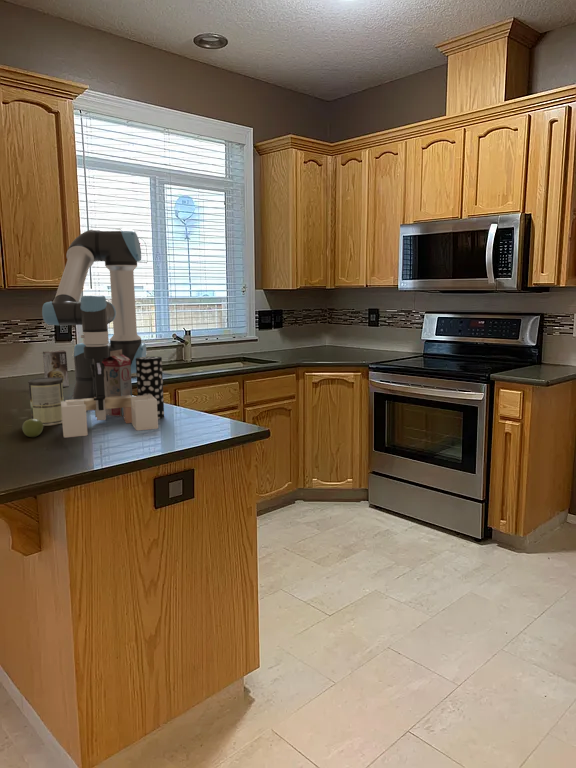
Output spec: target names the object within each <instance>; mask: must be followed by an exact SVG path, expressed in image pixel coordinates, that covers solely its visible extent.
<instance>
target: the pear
mask: <svg viewBox="0 0 576 768" xmlns="http://www.w3.org/2000/svg"><path fill="white" fill-rule="evenodd" d="M21 429H22V432H23V434H24V435H25V436H26V437H29V438H36V437H38V436H39V435H41V433H42V432H43V429H44V426H43V423H42V422H41V421H40V420H38V419H32V418H29V419H27V420H24V422H23V423H22V427H21Z"/></svg>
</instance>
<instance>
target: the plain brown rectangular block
mask: <svg viewBox="0 0 576 768" xmlns="http://www.w3.org/2000/svg"><path fill="white" fill-rule="evenodd" d="M123 412H124V416H123V421H124V422H125V423H126V424H132V413H131V407H123Z"/></svg>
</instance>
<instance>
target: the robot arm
mask: <svg viewBox="0 0 576 768" xmlns="http://www.w3.org/2000/svg"><path fill="white" fill-rule="evenodd" d="M66 259H67V260H66V263H65V267H64V270H63V273H62V276H61V279H60V282H59V283H58V284H59V285H58V288H57V290H56V294H55V296H54V299H53V301H51V300H50V301H46V302H45V303H43V305H42V307H41V308H42V310H41V315H42V320H43V321H44V323H45V324H46V325H47V326H48V325H49V326H58V327H59V326H78V325H79V326H82V327H81V328H82V334H81V335H80V338H81V339H83V342H80V343H77V344H75V345H74V346H73V358H74V359H73V360H74V372H75V373H74V374H75V385H74V388H73V392H72V395H71V400H74V399H87V398H94V400H96V410H94V414H95V418H96V421H106V420H107V415H106V411H105V388H104V369H105V366H104V363H102V361H103V360H104V359H106V358H108V357H110V351H115V350H122V354H123V355H124V356H126V357H128V358H129V359H130V363H131V373H136V358H138V357H146V356H147V355H146V353H147V344H146V343H145V342H142V338H141V336H140V335H139V334H138V333H137V331H138V329H137V327H138V326H137V315H136V313H137V312H136V311H137V310H136V296H135V294H136V293H135V276H134V275H135V274H134V271H135V269H136V268H138V262H141V260H142V248H141V243H140V241H139V237H138V234H137V232H136V231H135V230H133V229H129V228H128V229H127V228H104V229H103V228H93V229H88V230H86V231H84V232H82V233H80V234H79V235H78V236H77V237H76V238H74V240H72V242H71V243H70V245H69V246H68V248H67V251H66ZM95 262H104V267H106V268H107V269H108V271H109V278H110V280H109V281H110V293H111V297H110V298H111V302H109V301H107V299H106V297H105V295H83V296H81V294H82V291H83V289H84V285H85V282H86V278H87V275H88V272H89V269H90V267H92V266H93V265H94V263H95ZM110 323H112V327H113V328H112V330H113V335H112V336H111V337H110V339H109V329H108V325H109V324H110Z"/></svg>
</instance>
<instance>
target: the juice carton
mask: <svg viewBox="0 0 576 768" xmlns="http://www.w3.org/2000/svg"><path fill="white" fill-rule="evenodd" d="M102 363H104V366H105V369H104V388H105V397H114V396H127V395H131V396H133V387H132V386H133V385H132V377H131V363H130V359H129V358H128V357H126V356H124V355H123V354H122V350H115V351H110V357H108V358H106V359H104V360H103V361H102ZM105 411H106V417H107V416H111V417H124V412H123V408H111V409H105Z"/></svg>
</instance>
